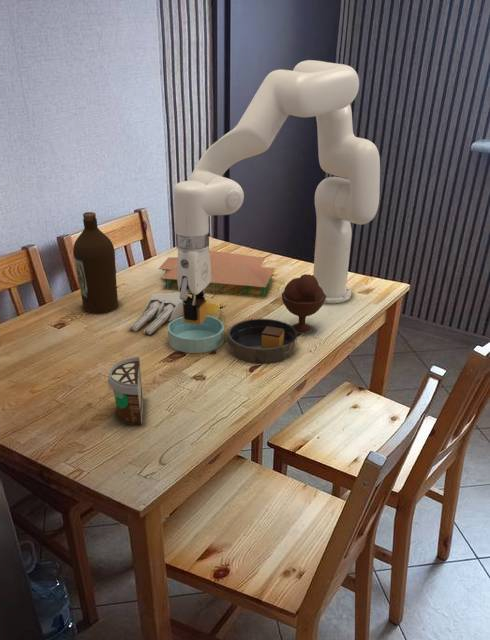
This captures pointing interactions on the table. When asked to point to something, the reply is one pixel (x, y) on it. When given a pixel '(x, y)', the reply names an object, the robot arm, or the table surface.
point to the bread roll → (212, 310)
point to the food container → (127, 390)
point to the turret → (160, 311)
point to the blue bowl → (196, 335)
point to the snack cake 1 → (198, 312)
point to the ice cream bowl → (303, 299)
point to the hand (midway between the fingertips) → (194, 314)
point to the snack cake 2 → (272, 337)
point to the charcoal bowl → (260, 341)
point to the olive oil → (95, 267)
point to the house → (229, 271)
